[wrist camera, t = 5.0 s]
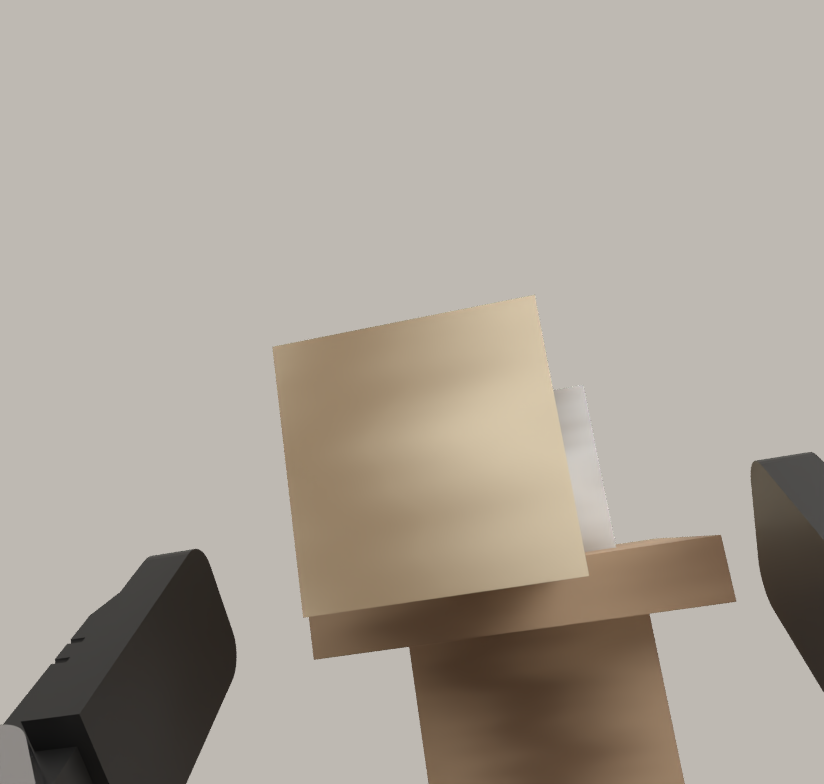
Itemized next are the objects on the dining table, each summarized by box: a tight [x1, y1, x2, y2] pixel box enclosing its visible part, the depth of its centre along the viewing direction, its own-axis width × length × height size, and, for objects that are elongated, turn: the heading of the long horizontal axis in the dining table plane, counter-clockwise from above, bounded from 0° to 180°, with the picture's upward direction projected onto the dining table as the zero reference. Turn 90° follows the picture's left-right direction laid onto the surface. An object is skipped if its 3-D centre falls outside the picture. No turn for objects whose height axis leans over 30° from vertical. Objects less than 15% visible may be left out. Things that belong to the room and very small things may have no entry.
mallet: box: [273, 295, 616, 617], centre depth 19 cm, size 6×22×5 cm, turn 170°
